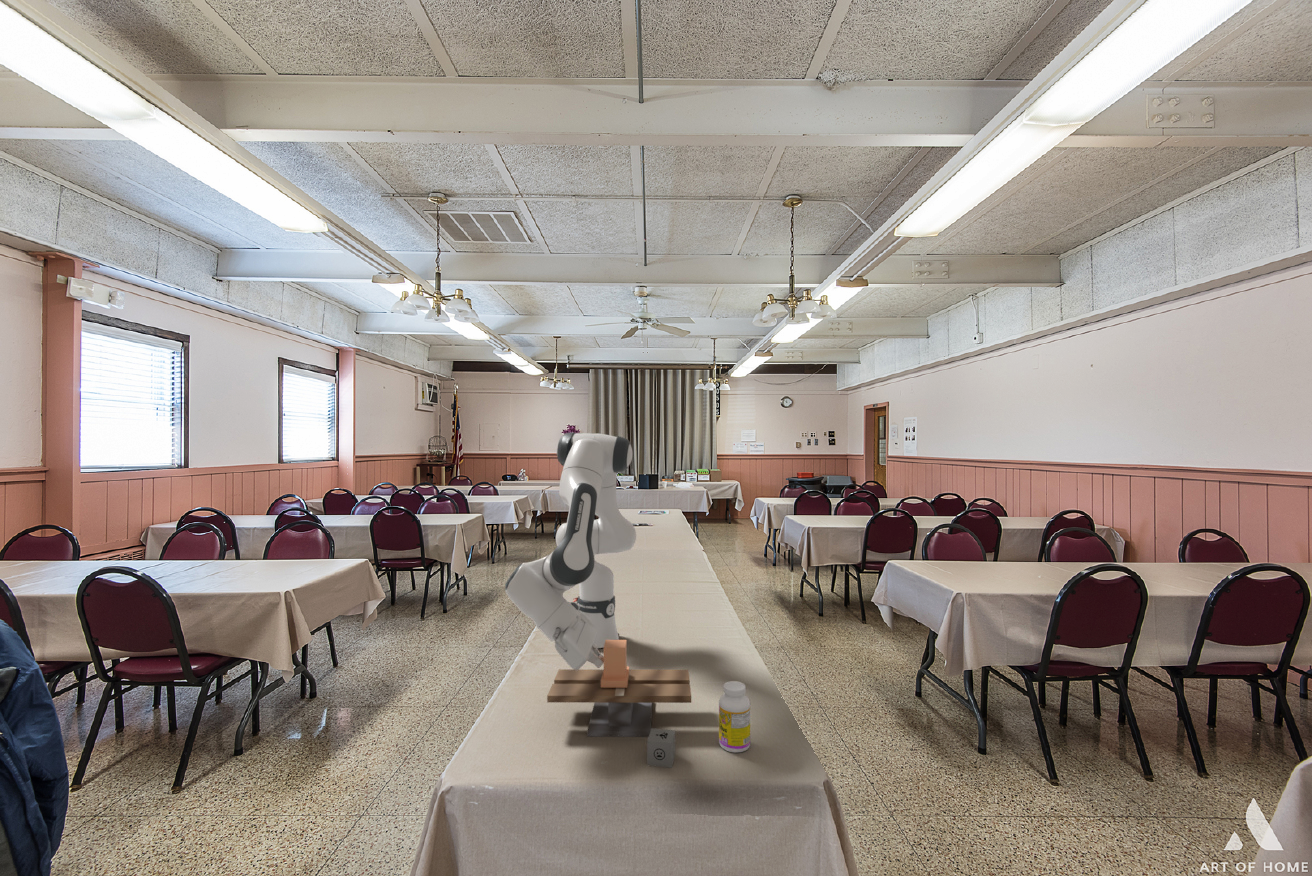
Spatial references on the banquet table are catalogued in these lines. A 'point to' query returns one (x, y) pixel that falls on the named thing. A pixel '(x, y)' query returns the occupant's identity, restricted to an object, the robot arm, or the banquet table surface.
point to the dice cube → (661, 747)
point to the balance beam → (621, 698)
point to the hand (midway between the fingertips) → (602, 663)
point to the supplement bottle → (734, 718)
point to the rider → (615, 664)
